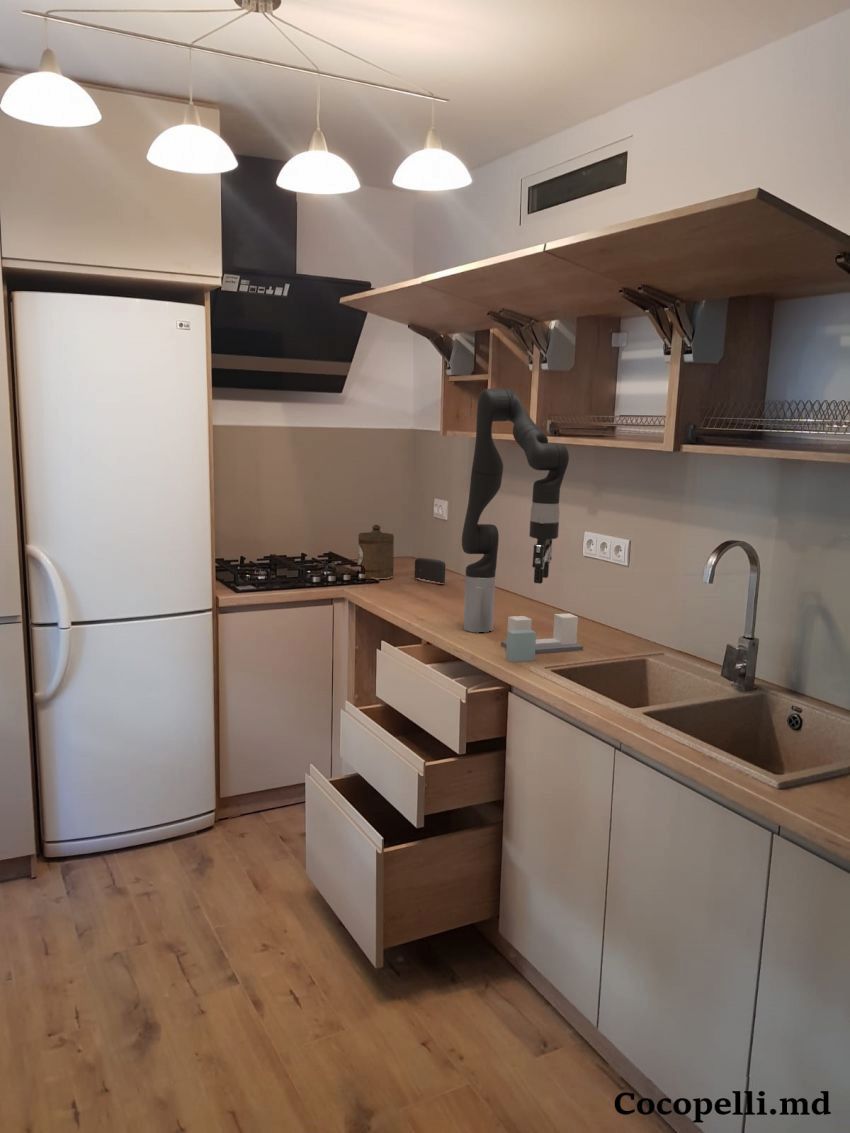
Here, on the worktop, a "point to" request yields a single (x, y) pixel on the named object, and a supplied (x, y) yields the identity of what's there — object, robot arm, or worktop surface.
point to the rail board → (562, 633)
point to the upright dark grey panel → (430, 569)
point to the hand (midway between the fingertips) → (541, 580)
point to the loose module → (520, 645)
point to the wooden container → (376, 553)
